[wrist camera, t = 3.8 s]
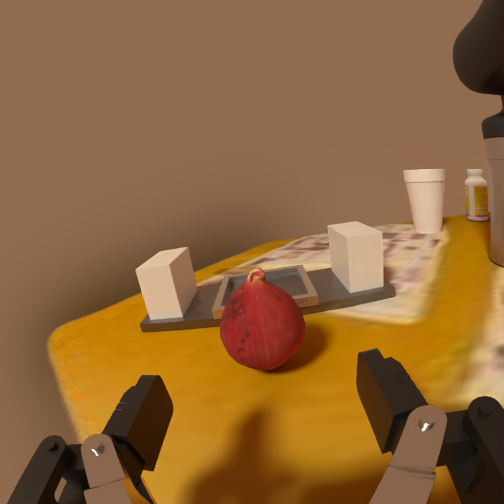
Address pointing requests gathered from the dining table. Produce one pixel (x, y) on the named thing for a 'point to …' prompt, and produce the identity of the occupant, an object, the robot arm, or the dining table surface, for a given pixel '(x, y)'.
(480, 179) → the supplement bottle
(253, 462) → the dining table surface
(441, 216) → the foam cup
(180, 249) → the mounted modules
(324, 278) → the mounting plate
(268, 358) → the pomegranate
